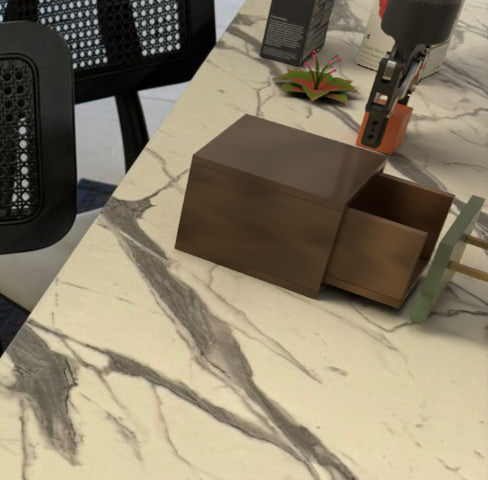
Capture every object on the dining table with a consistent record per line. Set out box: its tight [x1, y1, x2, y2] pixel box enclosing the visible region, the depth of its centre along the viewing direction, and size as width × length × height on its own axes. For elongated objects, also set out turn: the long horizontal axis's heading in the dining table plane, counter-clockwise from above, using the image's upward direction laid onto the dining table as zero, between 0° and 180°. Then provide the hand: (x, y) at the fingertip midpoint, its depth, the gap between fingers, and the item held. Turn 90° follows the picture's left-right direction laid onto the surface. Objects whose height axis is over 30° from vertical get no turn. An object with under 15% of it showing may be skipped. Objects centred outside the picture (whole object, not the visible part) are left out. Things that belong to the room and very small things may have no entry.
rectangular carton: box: [355, 0, 466, 80], centre depth 138 cm, size 9×9×15 cm
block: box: [355, 98, 414, 156], centre depth 121 cm, size 4×4×4 cm
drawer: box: [323, 172, 488, 325], centre depth 93 cm, size 19×11×8 cm, turn 57°
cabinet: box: [173, 113, 389, 300], centre depth 98 cm, size 15×13×10 cm
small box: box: [259, 0, 336, 67], centre depth 141 cm, size 11×6×10 cm, turn 149°
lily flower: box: [272, 51, 362, 105], centre depth 132 cm, size 12×12×5 cm
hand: (380, 134), depth 122 cm, fingers open, 8 cm apart
